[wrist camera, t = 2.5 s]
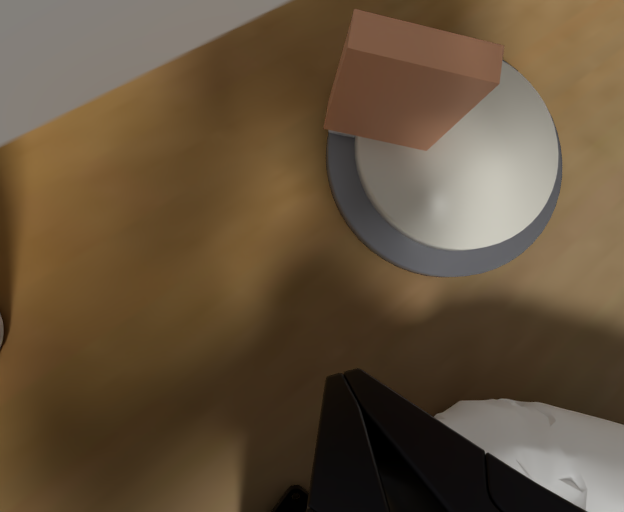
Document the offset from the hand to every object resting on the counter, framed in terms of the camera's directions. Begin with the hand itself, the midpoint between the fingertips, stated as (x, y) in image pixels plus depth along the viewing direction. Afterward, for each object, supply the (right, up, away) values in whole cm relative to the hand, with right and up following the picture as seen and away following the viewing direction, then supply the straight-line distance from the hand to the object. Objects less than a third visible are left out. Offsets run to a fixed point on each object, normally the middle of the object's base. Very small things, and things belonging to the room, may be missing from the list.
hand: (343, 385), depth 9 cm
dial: (+7, +10, +13) cm, 18 cm away
